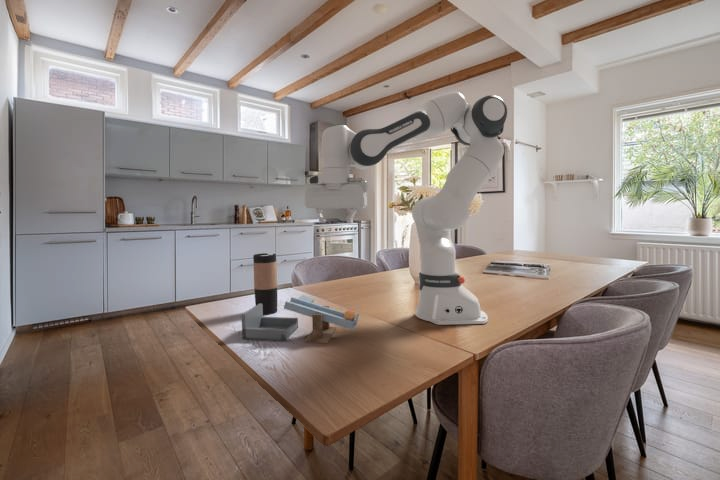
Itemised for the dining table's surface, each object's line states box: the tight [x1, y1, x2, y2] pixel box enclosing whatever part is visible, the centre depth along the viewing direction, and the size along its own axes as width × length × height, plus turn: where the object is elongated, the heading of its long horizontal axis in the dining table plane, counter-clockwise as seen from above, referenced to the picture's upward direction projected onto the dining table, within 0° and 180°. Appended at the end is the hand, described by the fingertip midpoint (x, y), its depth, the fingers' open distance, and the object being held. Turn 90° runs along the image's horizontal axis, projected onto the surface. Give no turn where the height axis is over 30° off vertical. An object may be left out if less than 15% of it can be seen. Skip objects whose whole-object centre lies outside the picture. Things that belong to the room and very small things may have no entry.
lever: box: [283, 295, 360, 331], centre depth 99 cm, size 20×12×3 cm, turn 82°
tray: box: [240, 304, 299, 342], centre depth 99 cm, size 12×11×7 cm
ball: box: [343, 309, 357, 321], centre depth 95 cm, size 3×3×3 cm
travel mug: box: [252, 252, 278, 316], centre depth 119 cm, size 8×8×20 cm
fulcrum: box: [305, 305, 337, 344], centre depth 96 cm, size 6×10×7 cm, turn 171°
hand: (335, 223), depth 110 cm, fingers open, 8 cm apart
